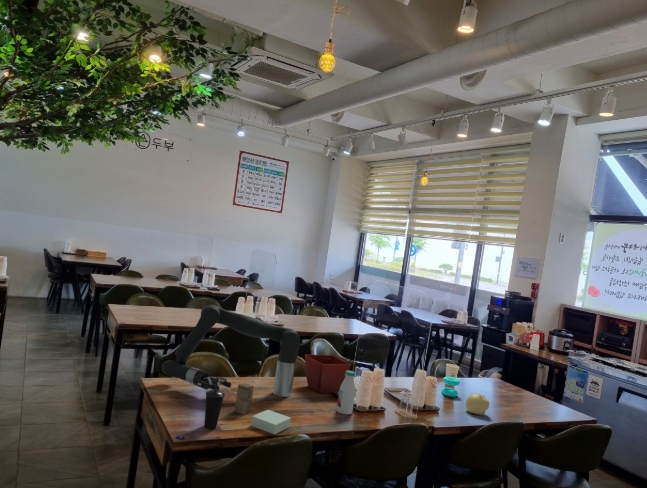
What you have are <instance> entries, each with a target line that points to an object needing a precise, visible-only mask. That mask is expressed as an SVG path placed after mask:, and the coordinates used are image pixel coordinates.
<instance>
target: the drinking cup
mask: <svg viewBox="0 0 647 488" xmlns="http://www.w3.org/2000/svg"><path fill="white" fill-rule="evenodd" d="M218 379H219V378H217V380H216V387H215V390H213V389H209V390H206V391H205V405H204V407H205V408H204V409H205V410H204V424H203V425H204V426H203V427H204V428H205V429H207V430H215V429H217V426H218V422H219V418H220V413H221V409H222V405H223V401H224V398H225V396H226V394H225V392H223V391H221V390H220V389H219V390H217V385H218Z"/></svg>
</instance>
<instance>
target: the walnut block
mask: <svg viewBox="0 0 647 488" xmlns="http://www.w3.org/2000/svg"><path fill="white" fill-rule="evenodd" d="M254 387H255V385H253V384H249V383H247V382H243V383H239V384H238V385H237V392H236V397H235V405H234V409H233V410H234V412H235V413H238V414H241V415H246V414H249V413H250V412H251V408H252V401H253V394H254Z"/></svg>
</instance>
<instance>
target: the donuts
mask: <svg viewBox="0 0 647 488" xmlns="http://www.w3.org/2000/svg"><path fill="white" fill-rule="evenodd" d="M442 381H443V383H444V384H446V385H448V386H453V387H458V386H459V385H460V384H461V382H460V379H458V378H457V377H453V376H452V377H451V376H445V377H443V379H442ZM441 394H442V395H444V396H447V397H451V398H455V397H457V396H459V392H458V390H457V389H454V388H452V387H443V388H441Z"/></svg>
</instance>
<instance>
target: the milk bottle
mask: <svg viewBox="0 0 647 488" xmlns="http://www.w3.org/2000/svg"><path fill="white" fill-rule="evenodd" d="M355 375H356V372H355V371H354V370H349V371H346V373H345V379H344V381H343V382H342V384H341V386H340V390H339V392H338V398H337V404H336V412H338V413H339V414H340V415H346V416H348V415H352V413H353V409H354V404H355V403H354V402H355V396H356V395H355V394H356V384H355V380H354V379H355Z"/></svg>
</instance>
